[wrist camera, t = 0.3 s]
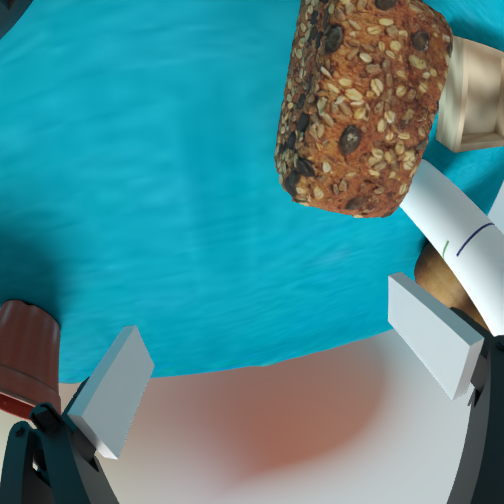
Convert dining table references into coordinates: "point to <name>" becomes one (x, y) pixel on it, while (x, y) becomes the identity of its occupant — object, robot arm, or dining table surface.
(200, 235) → the dining table surface
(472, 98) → the holder tray
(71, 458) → the robot arm
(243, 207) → the dining table surface
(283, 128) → the bread
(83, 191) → the dining table surface
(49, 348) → the flower pot
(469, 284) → the cylindrical container
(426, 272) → the butternut squash
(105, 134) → the dining table surface
